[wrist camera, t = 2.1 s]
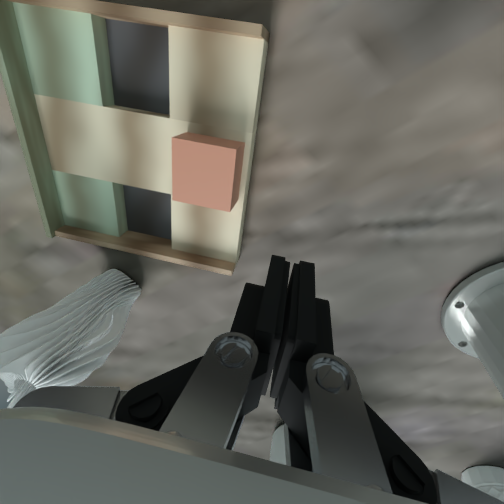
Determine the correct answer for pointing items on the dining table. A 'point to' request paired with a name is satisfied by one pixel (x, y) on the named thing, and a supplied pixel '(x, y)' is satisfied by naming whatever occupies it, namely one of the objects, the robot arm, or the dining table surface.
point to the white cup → (486, 480)
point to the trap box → (130, 119)
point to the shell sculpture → (67, 336)
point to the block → (206, 170)
